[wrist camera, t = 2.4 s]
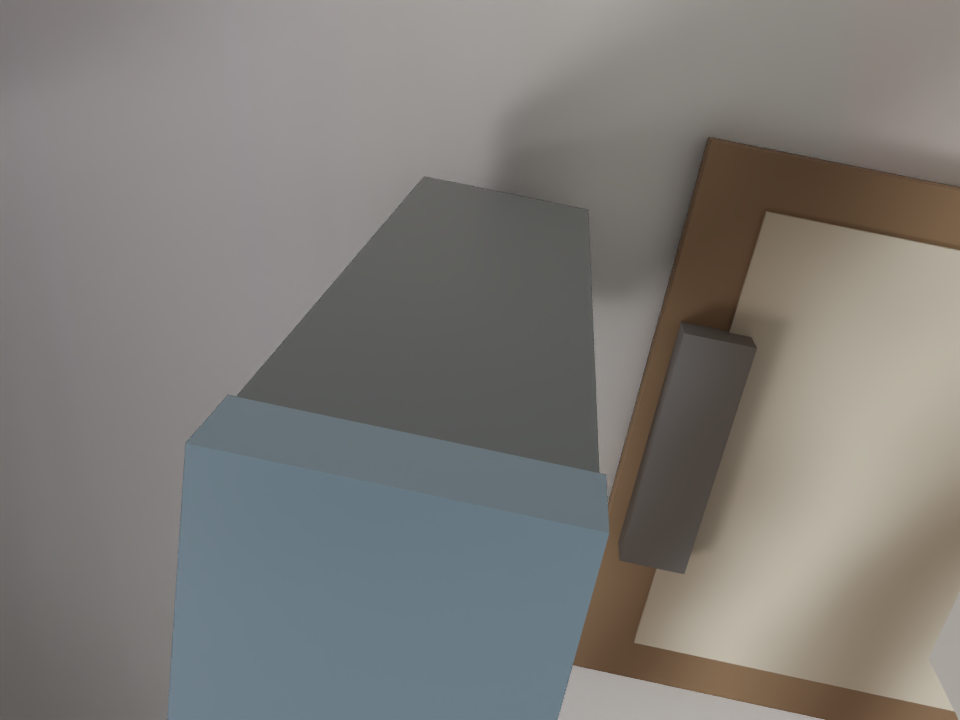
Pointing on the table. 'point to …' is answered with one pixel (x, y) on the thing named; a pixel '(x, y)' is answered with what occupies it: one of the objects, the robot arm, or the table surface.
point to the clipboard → (794, 447)
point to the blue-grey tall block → (405, 484)
